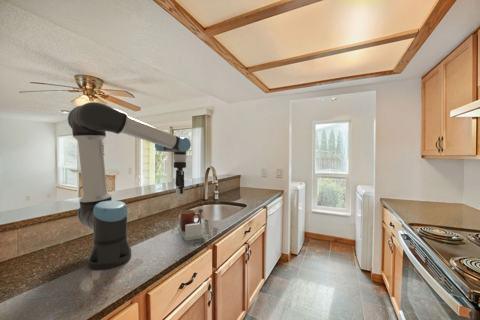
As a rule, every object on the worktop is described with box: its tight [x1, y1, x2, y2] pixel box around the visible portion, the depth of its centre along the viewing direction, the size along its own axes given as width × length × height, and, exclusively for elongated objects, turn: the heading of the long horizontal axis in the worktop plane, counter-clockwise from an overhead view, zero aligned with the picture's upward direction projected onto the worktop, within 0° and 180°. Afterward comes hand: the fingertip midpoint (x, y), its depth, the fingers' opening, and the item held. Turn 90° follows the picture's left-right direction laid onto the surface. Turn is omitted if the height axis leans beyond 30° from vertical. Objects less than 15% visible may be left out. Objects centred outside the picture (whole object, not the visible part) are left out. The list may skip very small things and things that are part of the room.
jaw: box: [178, 214, 181, 226], centre depth 126 cm, size 8×8×6 cm
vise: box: [176, 208, 204, 242], centre depth 115 cm, size 10×22×15 cm, turn 27°
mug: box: [179, 209, 200, 231], centre depth 115 cm, size 12×9×10 cm
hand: (179, 197), depth 127 cm, fingers open, 9 cm apart
